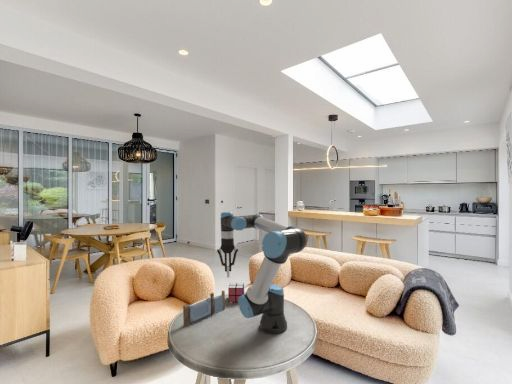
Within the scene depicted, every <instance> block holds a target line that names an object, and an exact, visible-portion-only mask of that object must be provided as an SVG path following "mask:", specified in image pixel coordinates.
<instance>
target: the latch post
mask: <svg viewBox="0 0 512 384" xmlns="http://www.w3.org/2000/svg"><path fill="white" fill-rule="evenodd" d="M189 305H190V304H187V303H186V304H183V306H182V307H183V310H182V311H183V312H182V313H183V315H182V316H183V327H186V328H187V327H190V326H191V324H190V313H189Z"/></svg>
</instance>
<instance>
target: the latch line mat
mask: <svg viewBox="0 0 512 384" xmlns="http://www.w3.org/2000/svg"><path fill="white" fill-rule="evenodd" d="M210 317H213V315H211V314H209V315H207V316H205V317H202V318H200V319H198V320H196V321H193V322H191V323H190V326H193V325H195V324H198V323H199V322H201V321H203V320H206V319H208V318H210Z"/></svg>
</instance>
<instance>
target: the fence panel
mask: <svg viewBox="0 0 512 384" xmlns="http://www.w3.org/2000/svg"><path fill="white" fill-rule="evenodd" d="M223 310H226V290H221V295H218V296H216V297H214V314H217V313H219V312H221V311H223Z"/></svg>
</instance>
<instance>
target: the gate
mask: <svg viewBox="0 0 512 384" xmlns="http://www.w3.org/2000/svg"><path fill="white" fill-rule="evenodd" d="M188 305H189V313H190V323H191V322H193V321H196V320H198V319H200V318H202V317H205V316H207V315H209V314H211V297H206V299H205V300H203V301H201V302H197V303H195V304H188Z"/></svg>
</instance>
